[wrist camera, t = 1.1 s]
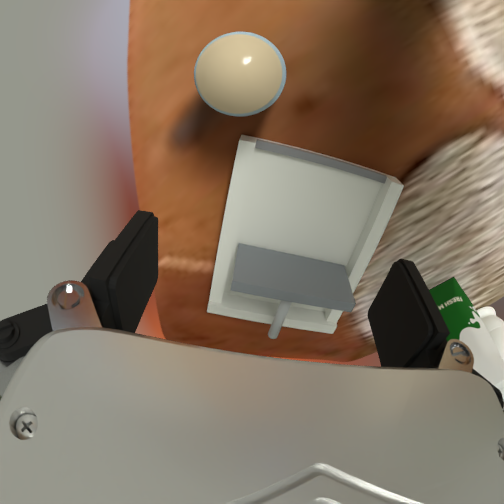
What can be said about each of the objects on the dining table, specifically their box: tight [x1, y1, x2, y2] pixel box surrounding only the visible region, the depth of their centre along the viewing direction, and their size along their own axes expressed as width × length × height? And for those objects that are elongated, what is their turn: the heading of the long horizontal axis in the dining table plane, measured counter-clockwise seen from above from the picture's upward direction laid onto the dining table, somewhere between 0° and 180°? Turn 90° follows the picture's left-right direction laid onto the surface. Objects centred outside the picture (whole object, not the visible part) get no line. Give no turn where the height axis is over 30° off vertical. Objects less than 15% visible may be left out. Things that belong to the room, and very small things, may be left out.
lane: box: [207, 135, 404, 334], centre depth 33 cm, size 21×16×3 cm
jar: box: [476, 306, 504, 401], centre depth 35 cm, size 11×10×15 cm
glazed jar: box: [194, 32, 286, 116], centre depth 21 cm, size 6×6×8 cm
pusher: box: [230, 243, 356, 339], centre depth 33 cm, size 9×12×6 cm
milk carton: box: [429, 277, 504, 399], centre depth 30 cm, size 9×9×20 cm
